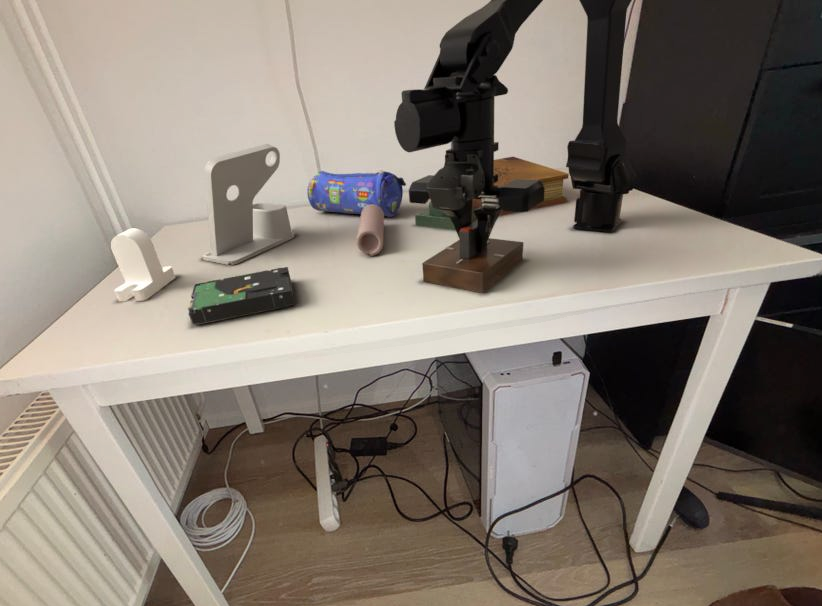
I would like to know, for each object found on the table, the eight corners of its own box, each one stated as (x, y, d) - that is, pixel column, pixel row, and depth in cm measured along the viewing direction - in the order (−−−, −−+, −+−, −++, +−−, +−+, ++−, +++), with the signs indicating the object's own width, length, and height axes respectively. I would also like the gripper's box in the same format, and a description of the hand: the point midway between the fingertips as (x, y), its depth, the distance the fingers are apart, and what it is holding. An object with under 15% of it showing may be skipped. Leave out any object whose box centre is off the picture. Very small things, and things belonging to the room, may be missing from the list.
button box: (479, 218, 96) (479, 197, 94) (459, 230, 91) (458, 209, 89) (437, 214, 102) (436, 194, 100) (415, 225, 97) (414, 205, 95)
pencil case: (409, 210, 106) (405, 164, 101) (388, 222, 101) (383, 174, 96) (331, 206, 118) (323, 164, 113) (308, 217, 112) (299, 173, 107)
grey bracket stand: (266, 231, 106) (244, 142, 96) (299, 235, 100) (279, 141, 91) (200, 259, 94) (168, 161, 85) (233, 265, 89) (203, 162, 79)
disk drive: (291, 281, 79) (198, 299, 77) (287, 265, 78) (193, 282, 76) (296, 307, 71) (192, 327, 69) (292, 289, 69) (186, 309, 67)
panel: (522, 260, 76) (523, 241, 74) (482, 293, 68) (482, 272, 66) (466, 252, 81) (466, 234, 80) (423, 281, 73) (421, 261, 71)
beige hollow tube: (382, 230, 82) (384, 203, 97) (355, 230, 82) (360, 203, 98) (383, 256, 85) (384, 226, 100) (356, 257, 85) (361, 226, 100)
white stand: (176, 276, 88) (156, 221, 82) (145, 300, 79) (120, 241, 74) (151, 277, 89) (129, 223, 83) (117, 301, 80) (91, 243, 75)
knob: (477, 245, 75) (477, 218, 73) (487, 246, 74) (487, 219, 72) (459, 257, 72) (458, 229, 69) (469, 259, 71) (468, 230, 68)
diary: (440, 195, 115) (438, 169, 112) (512, 181, 118) (512, 156, 115) (481, 219, 96) (481, 189, 93) (566, 202, 99) (568, 172, 96)
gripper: (380, 150, 65) (392, 261, 73) (510, 151, 54) (507, 280, 62) (426, 134, 72) (432, 237, 80) (549, 133, 61) (542, 251, 69)
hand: (473, 250), depth 73 cm, fingers closed
